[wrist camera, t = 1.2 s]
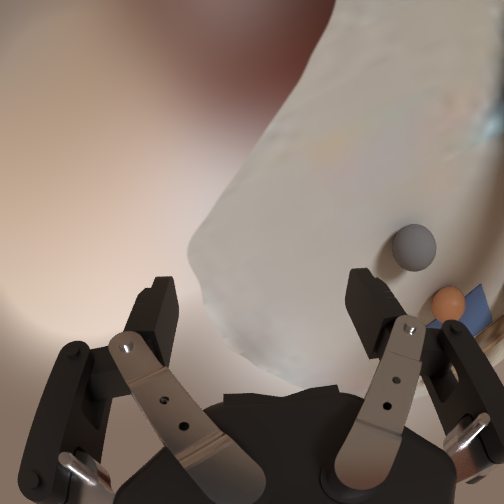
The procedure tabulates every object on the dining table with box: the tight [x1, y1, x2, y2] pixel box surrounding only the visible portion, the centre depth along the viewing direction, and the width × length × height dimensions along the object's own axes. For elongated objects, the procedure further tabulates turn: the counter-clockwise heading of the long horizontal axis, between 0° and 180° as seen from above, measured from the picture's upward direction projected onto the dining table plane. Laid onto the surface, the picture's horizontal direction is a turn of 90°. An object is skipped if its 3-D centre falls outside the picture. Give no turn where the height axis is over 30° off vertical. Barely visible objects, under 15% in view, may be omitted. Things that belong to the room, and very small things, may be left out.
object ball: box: [432, 287, 465, 323], centre depth 36 cm, size 6×6×6 cm
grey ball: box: [392, 224, 436, 271], centre depth 31 cm, size 6×6×6 cm
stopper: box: [451, 315, 504, 374], centre depth 45 cm, size 20×2×4 cm, turn 136°
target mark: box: [426, 284, 493, 337], centre depth 43 cm, size 14×14×1 cm
